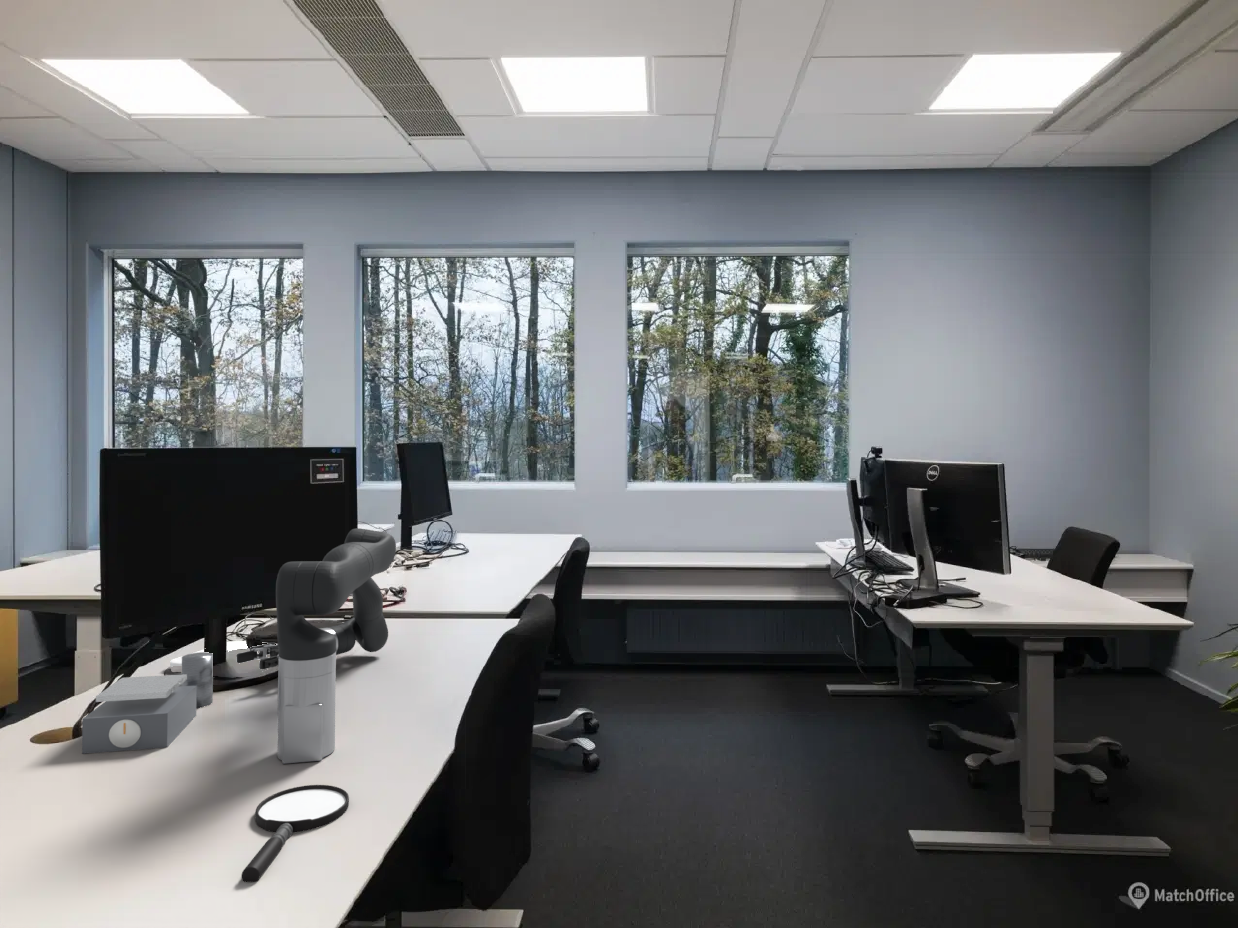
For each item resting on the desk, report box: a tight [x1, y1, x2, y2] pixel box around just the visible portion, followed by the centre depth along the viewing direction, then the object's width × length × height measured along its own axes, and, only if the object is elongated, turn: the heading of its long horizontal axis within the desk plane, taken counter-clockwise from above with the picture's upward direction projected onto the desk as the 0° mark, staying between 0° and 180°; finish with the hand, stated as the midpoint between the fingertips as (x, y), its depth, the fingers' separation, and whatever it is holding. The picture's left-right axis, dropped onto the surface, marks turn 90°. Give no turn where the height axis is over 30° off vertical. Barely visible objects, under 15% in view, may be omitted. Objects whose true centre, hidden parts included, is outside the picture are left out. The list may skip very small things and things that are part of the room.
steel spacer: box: [180, 652, 214, 709], centre depth 149 cm, size 6×6×10 cm
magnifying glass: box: [241, 784, 350, 883], centre depth 99 cm, size 12×24×2 cm, turn 4°
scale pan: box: [95, 674, 187, 703], centre depth 133 cm, size 11×11×1 cm
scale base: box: [81, 685, 197, 754], centre depth 133 cm, size 16×13×6 cm
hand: (248, 661), depth 159 cm, fingers open, 8 cm apart
